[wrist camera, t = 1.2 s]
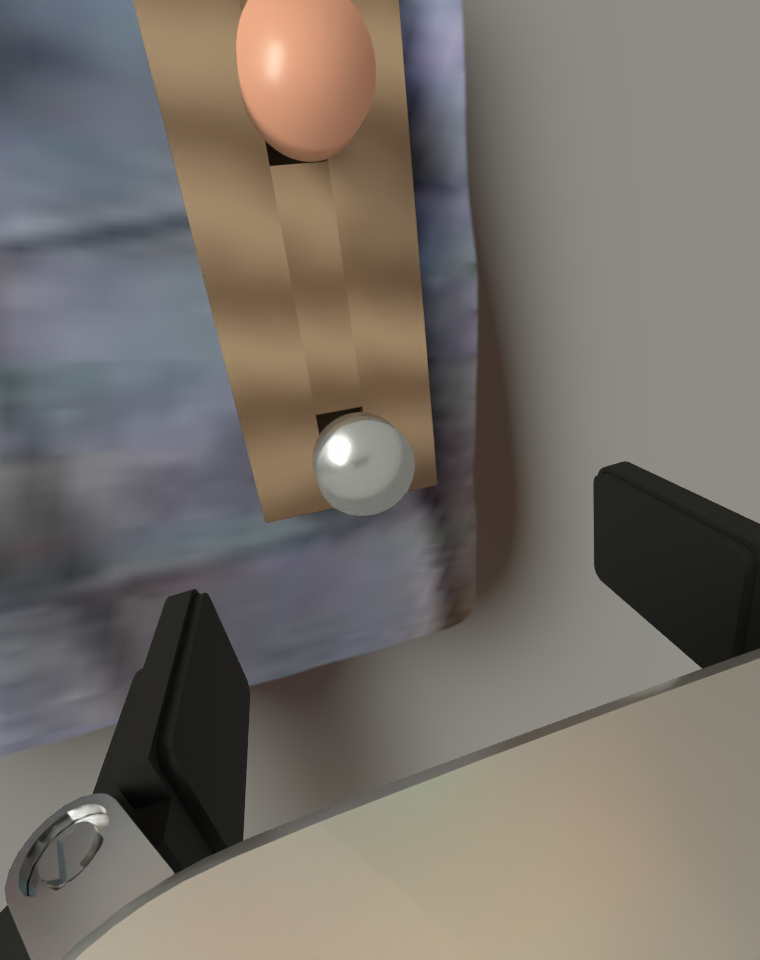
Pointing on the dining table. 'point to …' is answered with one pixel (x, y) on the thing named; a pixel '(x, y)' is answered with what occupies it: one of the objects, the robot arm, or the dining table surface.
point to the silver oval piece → (362, 464)
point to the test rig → (298, 251)
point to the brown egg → (305, 74)
